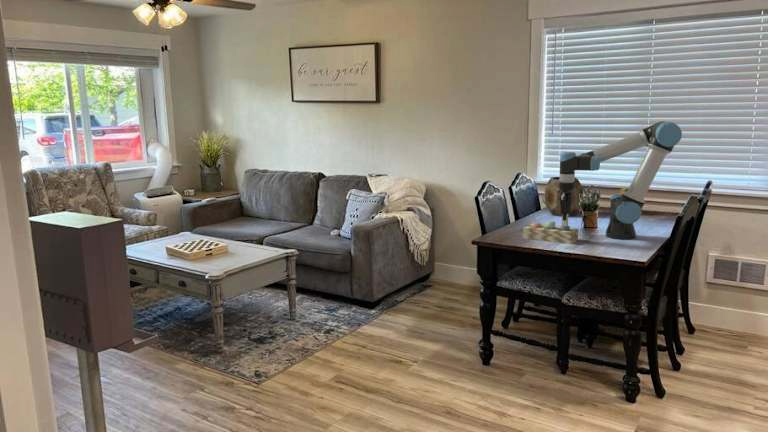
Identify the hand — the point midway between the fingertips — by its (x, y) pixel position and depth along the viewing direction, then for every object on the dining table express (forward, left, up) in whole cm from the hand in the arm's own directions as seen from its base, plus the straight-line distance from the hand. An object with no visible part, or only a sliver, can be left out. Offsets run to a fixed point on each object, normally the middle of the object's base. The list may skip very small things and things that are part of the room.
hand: (564, 226), depth 303 cm
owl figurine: (-7, -95, -8) cm, 95 cm away
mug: (+44, -97, -8) cm, 106 cm away
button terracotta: (+16, 0, -4) cm, 16 cm away
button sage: (+8, 0, -3) cm, 8 cm away
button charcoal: (0, 0, -4) cm, 4 cm away
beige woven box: (+8, 0, -8) cm, 11 cm away
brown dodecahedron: (+27, -74, -8) cm, 79 cm away
